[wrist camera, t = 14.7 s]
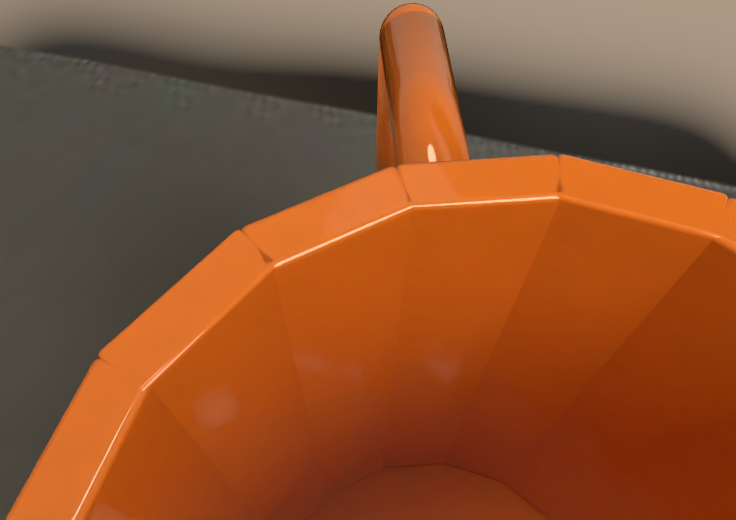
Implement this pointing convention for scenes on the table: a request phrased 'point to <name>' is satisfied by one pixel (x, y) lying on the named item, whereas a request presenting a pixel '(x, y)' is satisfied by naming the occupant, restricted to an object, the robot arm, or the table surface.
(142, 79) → the table surface
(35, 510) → the orange mug
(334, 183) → the table surface
